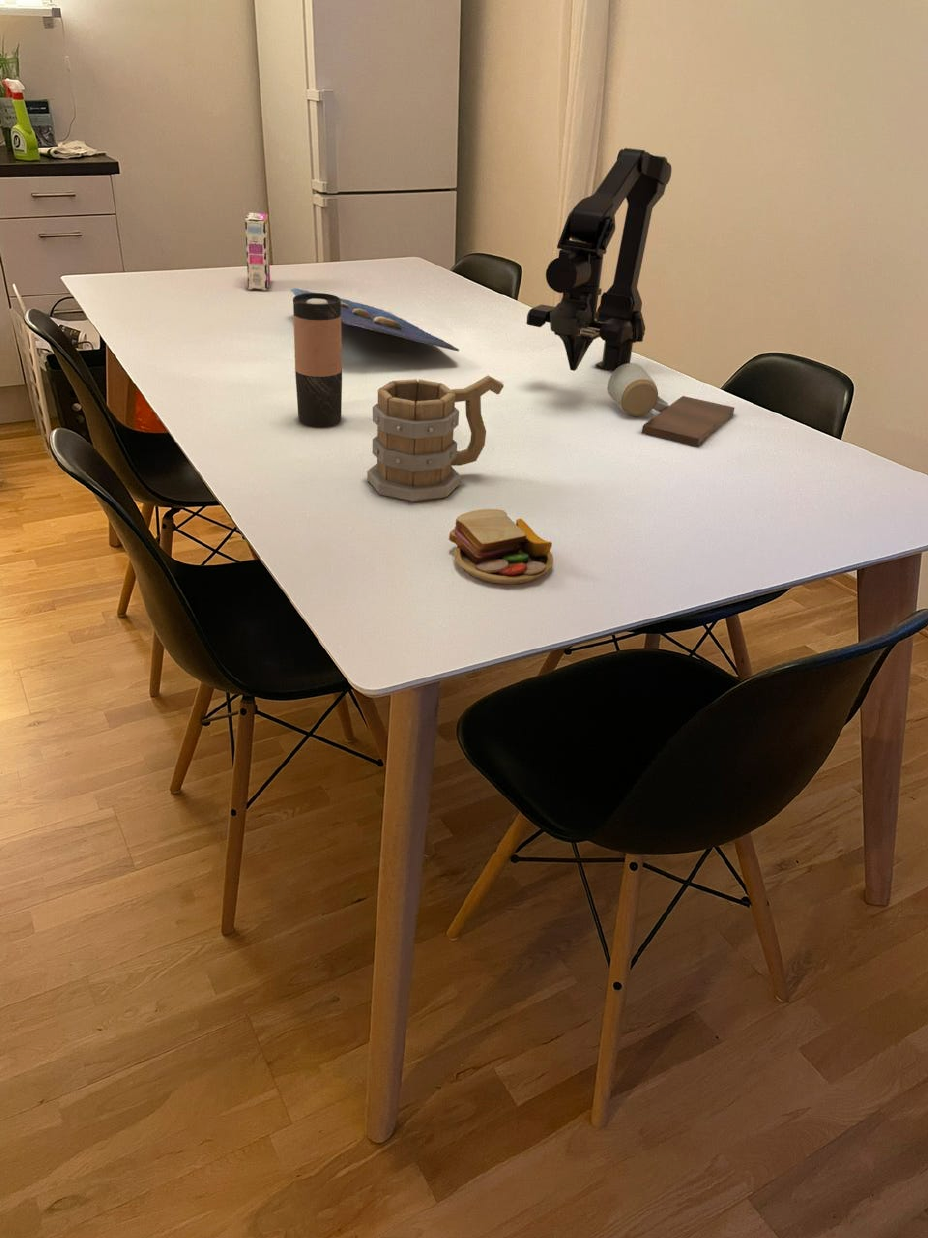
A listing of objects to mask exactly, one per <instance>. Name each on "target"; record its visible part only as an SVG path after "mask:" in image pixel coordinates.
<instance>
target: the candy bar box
mask: <svg viewBox="0 0 928 1238" xmlns="http://www.w3.org/2000/svg"><path fill="white" fill-rule="evenodd" d="M244 227H245V228H244V229H245V243H246V244H245V247H246V248H245V249H246V266H247V267H246V268H247V269H246V271H247V290H248V291H257V292H258V291H262V292H267V291H268V289H269V286H270V282H271V269H270V268H271V265H270V242H269V241H270V239H269V235H270V234H269V214H268V213H263V212H248V214H247V215H246V216H245V219H244Z"/></svg>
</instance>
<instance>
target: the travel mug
mask: <svg viewBox="0 0 928 1238" xmlns="http://www.w3.org/2000/svg"><path fill="white" fill-rule="evenodd" d="M340 298H341V297H339V296H338V295H335V294H329V293H322V292H313V293H306V294H300V295H296V296H295V295H294V296H293V297H292V311H293V312H292V313H293V344H294V345H293V346H294V349H293V350H294V374H295V375H294V377H295V389H296V390H295V391H296V403H297V416H298V417H297V418H298V422H299V423H300V424H301V425H304V426H306V427H309V428H319V429H320V428H331V427H335V426H337V425H339V424H340V423H341V422H342V402H343V401H342V400H343V399H342V398H343V343H342V341H343V340H342V339H343V337H342V336H343V335H342V321H341V300H340Z"/></svg>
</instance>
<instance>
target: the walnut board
mask: <svg viewBox="0 0 928 1238" xmlns="http://www.w3.org/2000/svg"><path fill="white" fill-rule="evenodd" d="M734 413H735V407H734V406H730V405H726V404H720V403H716V402H712V401H707V400H702V399H698V398H694V397H689V396H685V395H682V396H681V397H679V398H678V399H677V400H675V401H674V402H672V403H671V404H669V406H668V407H667V408H666V409H664V410H663V411H661V412H659V413H657V414H656V415H655V416H653V417H651V419H649V420H648V421H647V422H645V423H643V425H642V426H641V427H642V428H641V434H643V435H646V436H651V437H655V438H660V439H663V440H668V441H671V442H676V443H679V444H684V445H688V446H692V447H696V448H698V447H699V446H700V445H701V444H702V443H703V442H704V441H706V440H707V439H708V438H709V437H710V436H711V435H712V434H713V433H715V432H716V431H717V430H718V429H719V428H721V427H722V426H723V425H724V424H725V423H726V422H727V421H728V420H730V419H731V418H732V417H733V416H734Z"/></svg>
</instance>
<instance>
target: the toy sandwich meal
mask: <svg viewBox="0 0 928 1238" xmlns="http://www.w3.org/2000/svg"><path fill="white" fill-rule="evenodd" d="M448 535H449V536H448V540H449V541H450V542H451V543H453V544H455V545H456V546H455V548H454V551H453V554H454V559H455V561H456V563H457V564H458V565H459V566H460V567H461V568H462V569H463V570H464V571H465V572H466V573H468V574H469V575H471V576H473V577H474V578H476V579H478V580H480V581H483V582H488V583H493V584H497V585H498V584H500V585H518V584H519V585H520V584H524V583H529V582H531V581H535V580H536V579H538V578H540V577H541V576H543V575H544V574H545V573H547V572H548V571H549V570H550V569H551V568H552V566H553V564H554V556H553V553H552V552H551V549H552V546H553V543H552V542H551V541H548V540H545V539H544V538H541V537H540V536H539V535H538V534H536V532H535V531H534V530H533V529H532V528H531V527H530V526H529V524H527V522H525V521H524V520H523V519H522V518H517V519H516V521H515V522H514V521H513V520H512V519H511V518H510V517H509V516H508V515H507V512H506V511H505V510H503V509H498V508H484V509H482V508H481V509H476V510H471V511H467V512H465V513H462V514H459V516H457V517H456V520H455V525H454V528H453V529H451V531H450V532H449V534H448Z"/></svg>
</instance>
